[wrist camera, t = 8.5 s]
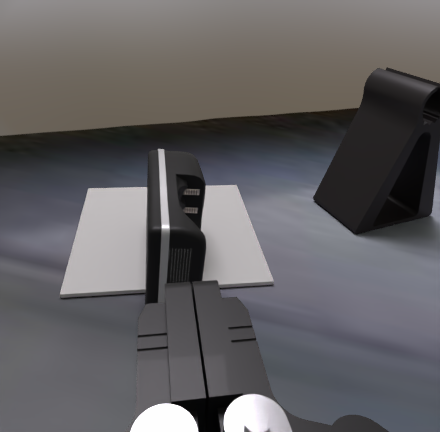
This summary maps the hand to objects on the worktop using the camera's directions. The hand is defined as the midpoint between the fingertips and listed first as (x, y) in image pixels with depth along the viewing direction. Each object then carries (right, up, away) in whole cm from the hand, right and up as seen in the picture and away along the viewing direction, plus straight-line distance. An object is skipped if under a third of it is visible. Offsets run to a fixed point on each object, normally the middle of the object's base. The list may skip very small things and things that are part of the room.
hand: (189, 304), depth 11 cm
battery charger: (-1, -1, +10) cm, 10 cm away
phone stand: (+15, +3, +26) cm, 30 cm away
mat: (-3, +1, +21) cm, 21 cm away
